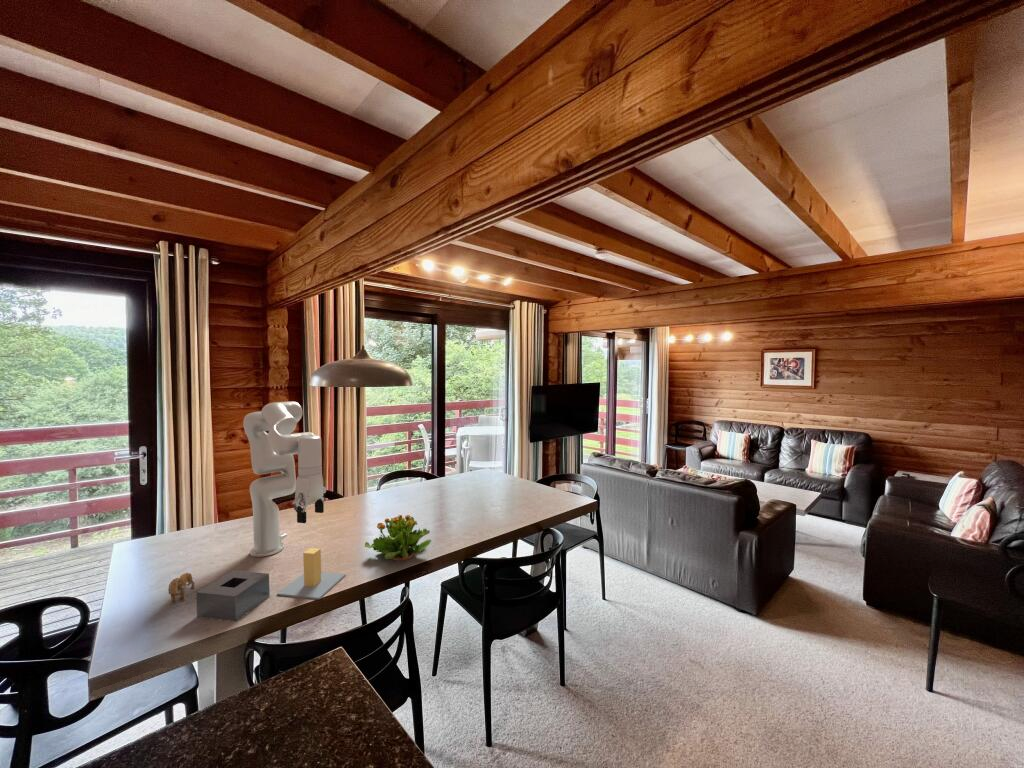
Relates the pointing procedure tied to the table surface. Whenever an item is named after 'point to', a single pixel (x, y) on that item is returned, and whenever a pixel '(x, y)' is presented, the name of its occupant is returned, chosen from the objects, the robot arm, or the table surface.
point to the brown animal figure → (180, 586)
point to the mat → (311, 592)
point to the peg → (312, 567)
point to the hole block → (232, 595)
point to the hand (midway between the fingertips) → (310, 517)
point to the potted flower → (399, 539)
